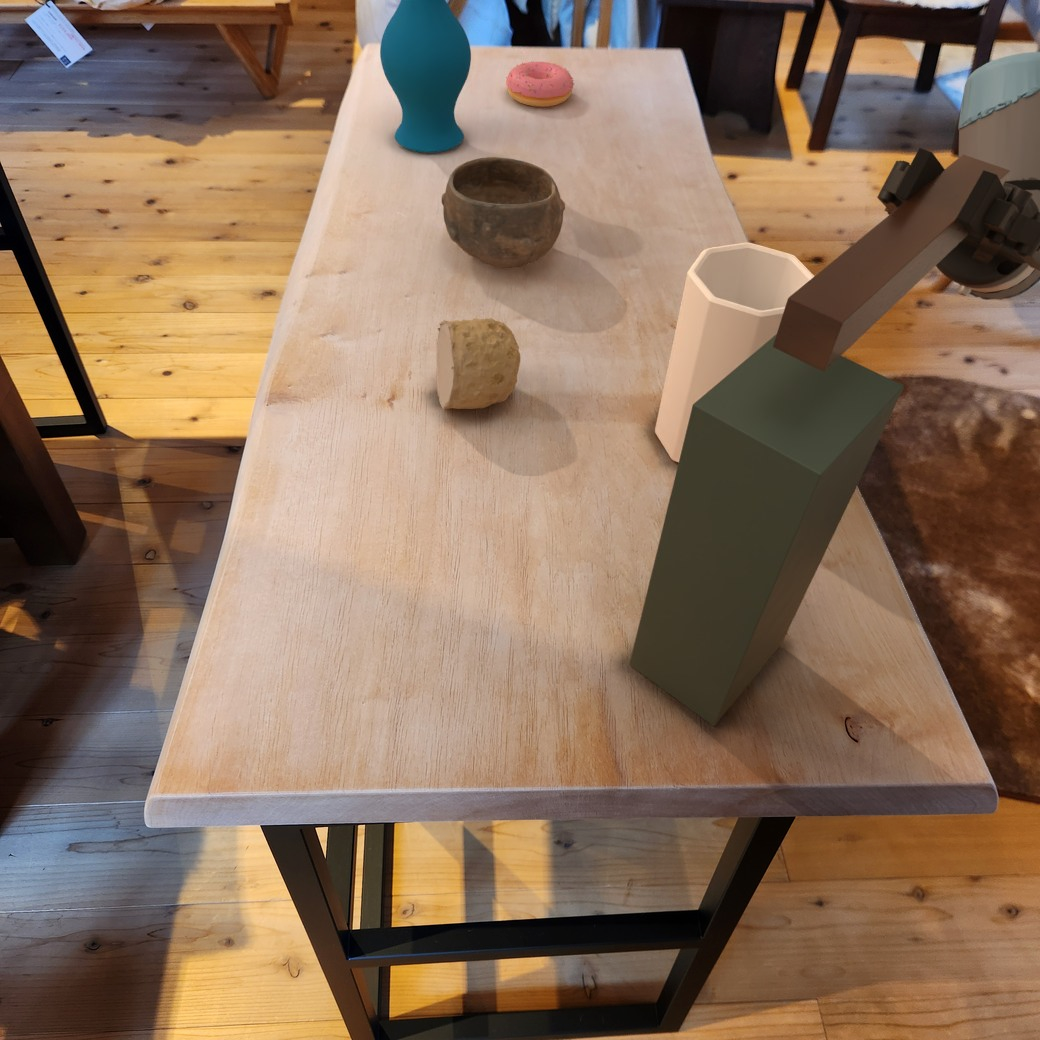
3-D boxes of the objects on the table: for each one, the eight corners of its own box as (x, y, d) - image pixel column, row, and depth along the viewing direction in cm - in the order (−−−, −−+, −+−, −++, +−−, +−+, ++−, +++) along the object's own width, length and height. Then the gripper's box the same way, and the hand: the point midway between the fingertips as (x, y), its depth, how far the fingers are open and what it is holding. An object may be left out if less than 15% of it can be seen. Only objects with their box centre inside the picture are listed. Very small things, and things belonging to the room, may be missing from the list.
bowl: (529, 300, 100) (533, 222, 93) (417, 264, 105) (413, 186, 97) (578, 246, 109) (585, 170, 101) (473, 214, 113) (472, 139, 105)
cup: (631, 431, 86) (660, 268, 72) (705, 387, 91) (745, 227, 77) (715, 494, 80) (764, 331, 66) (788, 443, 85) (848, 282, 71)
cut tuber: (400, 317, 85) (490, 276, 84) (444, 391, 92) (528, 354, 91) (404, 371, 79) (502, 327, 77) (451, 446, 86) (542, 407, 84)
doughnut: (499, 84, 142) (500, 57, 138) (563, 81, 143) (565, 54, 140) (513, 112, 135) (513, 84, 131) (580, 108, 136) (582, 81, 133)
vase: (387, 122, 130) (369, -97, 110) (469, 122, 132) (467, -96, 111) (387, 159, 123) (368, -71, 102) (474, 158, 124) (473, -69, 103)
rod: (988, 215, 54) (1010, 170, 52) (823, 372, 43) (842, 322, 41) (943, 199, 55) (963, 153, 53) (772, 347, 44) (787, 297, 42)
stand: (781, 645, 69) (904, 385, 49) (713, 727, 64) (821, 475, 44) (699, 591, 72) (783, 327, 52) (628, 664, 67) (692, 404, 47)
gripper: (1062, 326, 65) (1048, 306, 46) (868, 247, 72) (785, 200, 53) (1125, 230, 62) (1138, 166, 43) (917, 157, 69) (847, 73, 50)
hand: (944, 185), depth 48 cm, fingers closed on rod, 3 cm apart
